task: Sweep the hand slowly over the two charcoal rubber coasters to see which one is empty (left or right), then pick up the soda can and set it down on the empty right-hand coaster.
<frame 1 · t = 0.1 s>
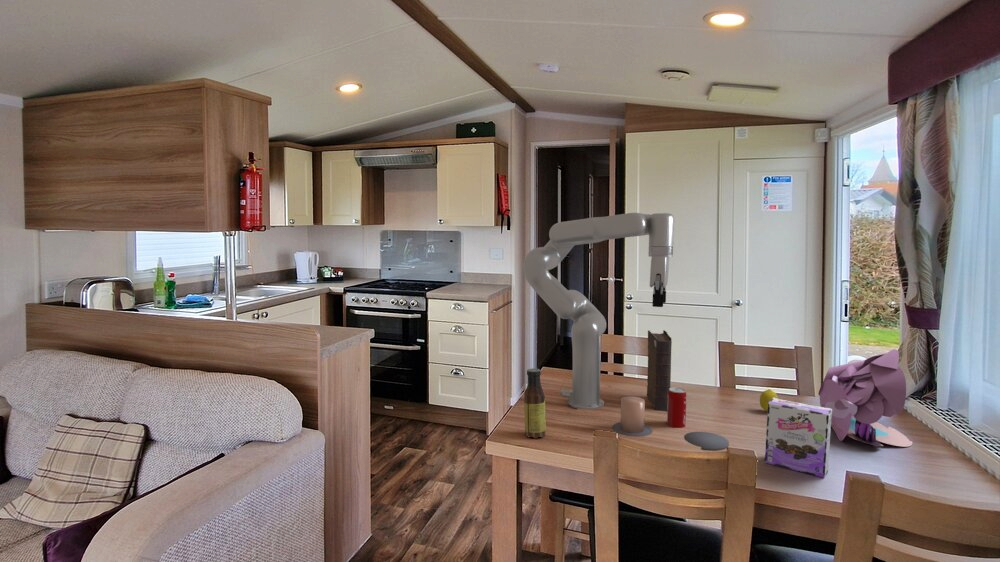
hand: (659, 304, 172), 37 cm above the table, tool pointing down, fingers open, 9 cm apart
left coaster: (632, 430, 161), on the table
lemon: (768, 413, 177), on the table
candy box: (795, 467, 137), on the table
sauce bottle: (534, 435, 158), on the table
flower arrangement: (869, 435, 158), on the table
soda can: (676, 427, 165), on the table
book: (657, 405, 185), on the table
beige rounded cylinder: (632, 428, 161), point 1 cm above the table, touching left coaster
right coaster: (706, 441, 153), on the table
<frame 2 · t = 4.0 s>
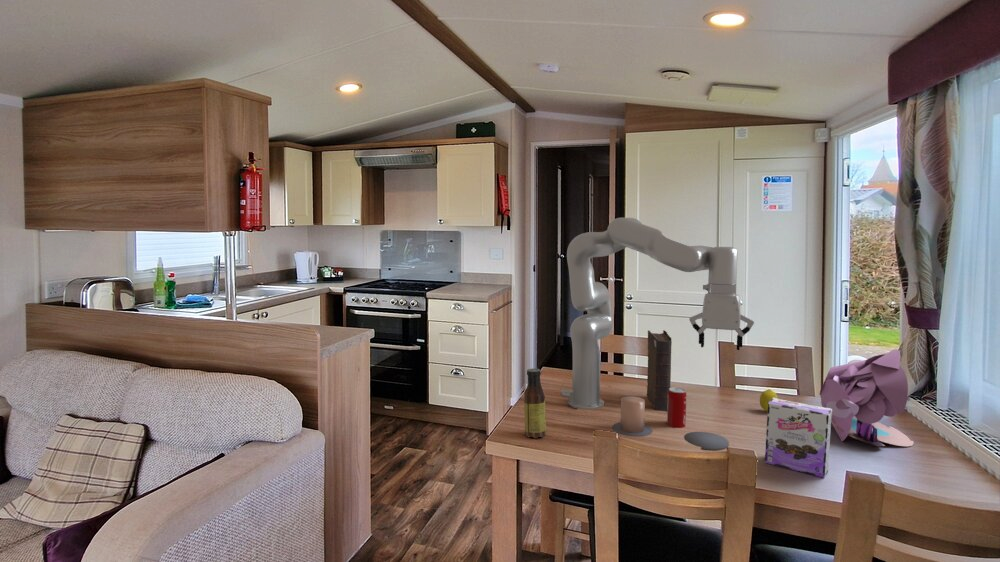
hand: (720, 347, 154), 27 cm above the table, tool pointing down, fingers open, 9 cm apart
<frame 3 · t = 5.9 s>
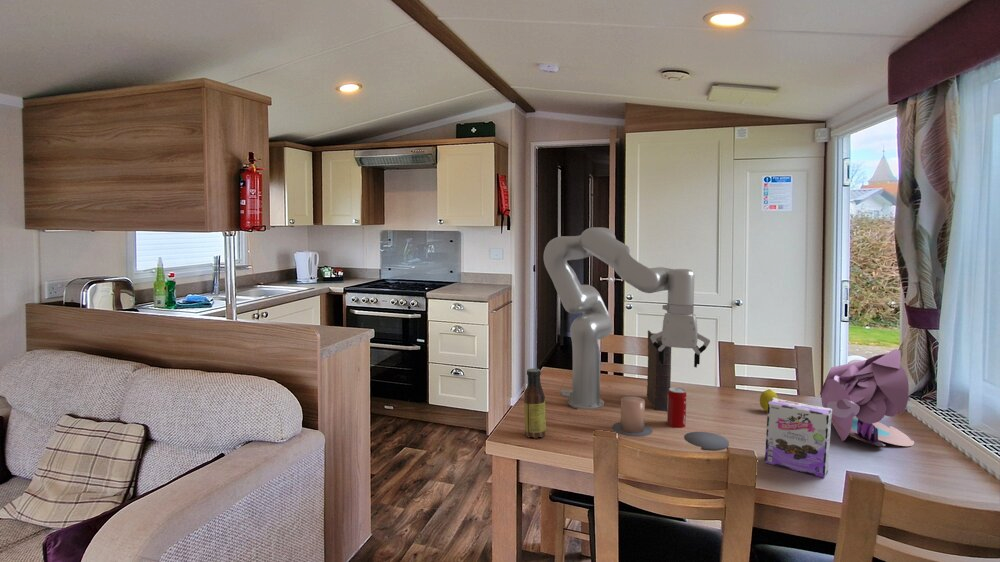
hand: (679, 364, 162), 20 cm above the table, tool pointing down, fingers open, 9 cm apart
nothing on the table moved.
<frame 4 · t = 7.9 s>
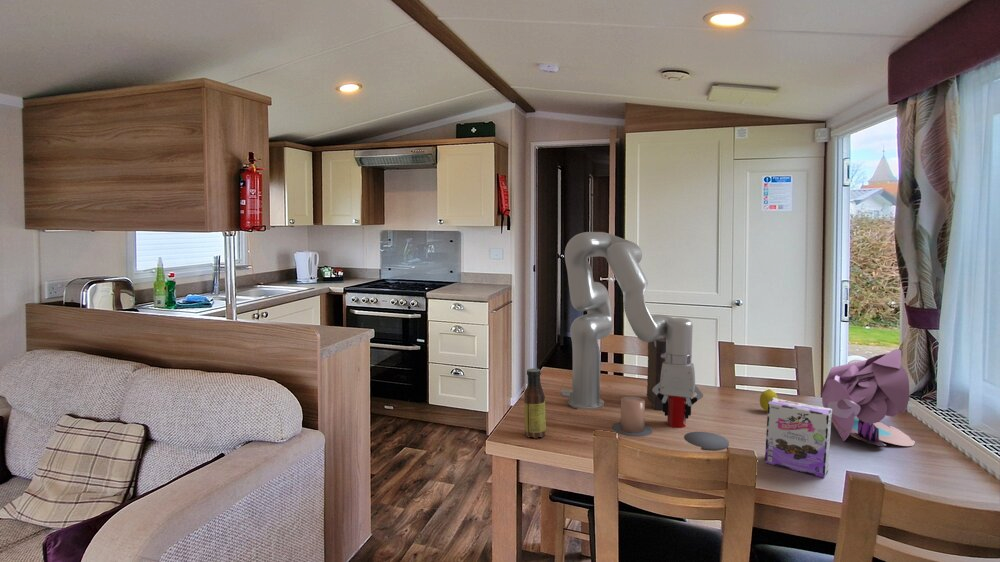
hand: (676, 415, 164), 4 cm above the table, tool pointing down, fingers closed on soda can, 5 cm apart
soda can: (676, 427, 165), on the table, touching gripper
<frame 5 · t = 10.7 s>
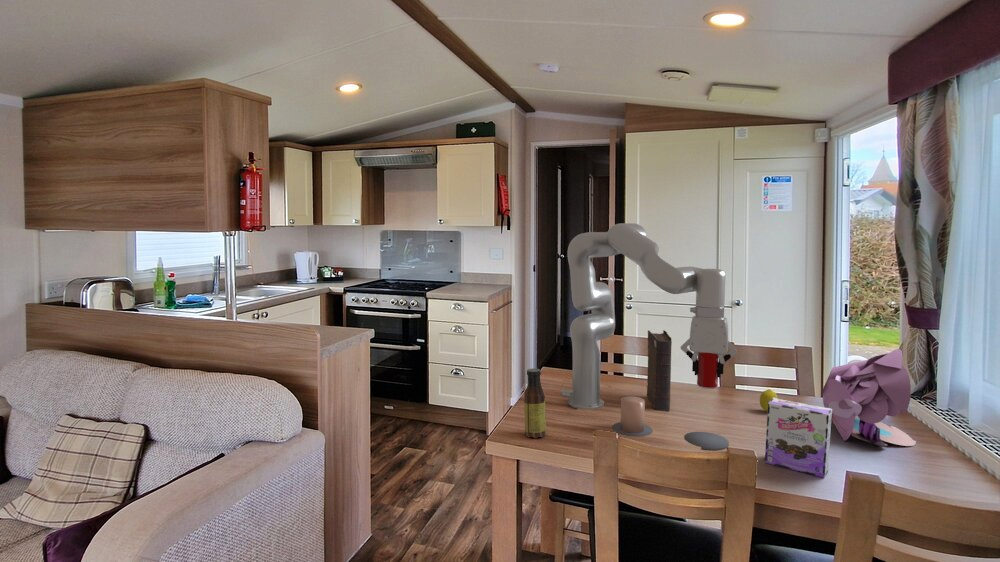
hand: (707, 374, 151), 20 cm above the table, tool pointing down, fingers closed on soda can, 5 cm apart
soda can: (707, 387, 152), point 16 cm above the table, touching gripper
when the fingers open (6 cm above the table, at t = 13.6 s): soda can drops 2 cm, resting on right coaster.
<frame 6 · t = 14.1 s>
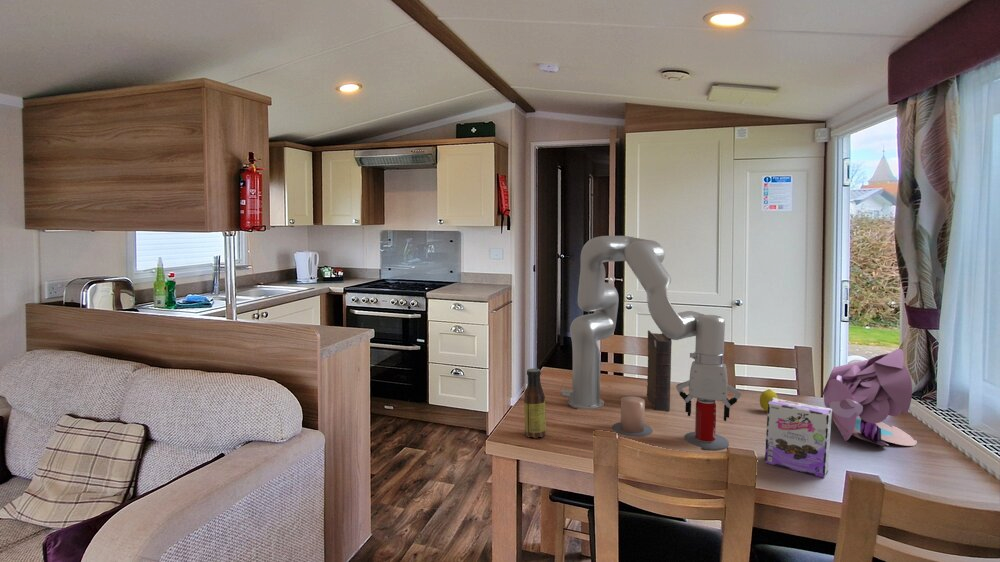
hand: (706, 417, 152), 7 cm above the table, tool pointing down, fingers open, 9 cm apart
soda can: (705, 440, 153), resting on right coaster
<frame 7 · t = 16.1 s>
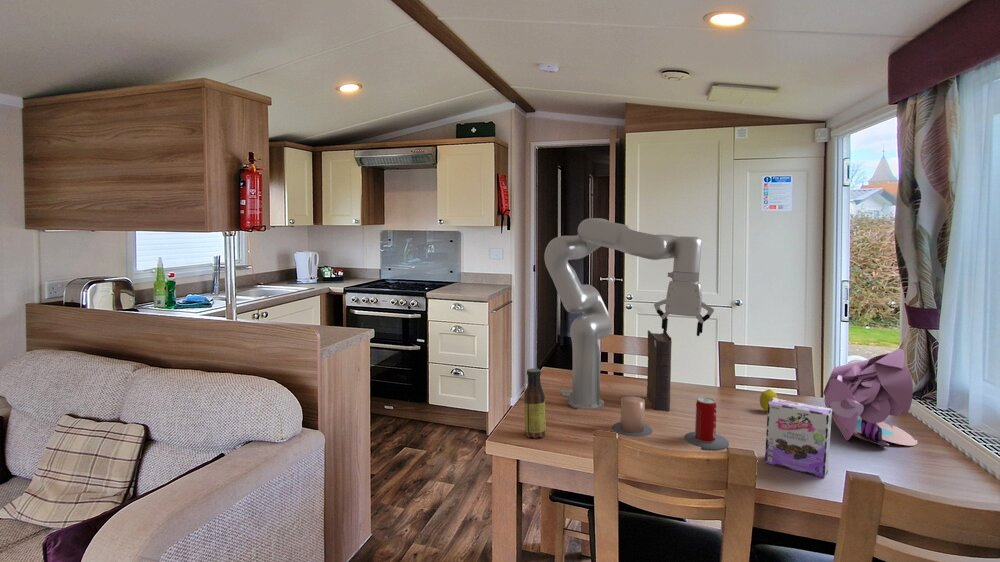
hand: (681, 333, 162), 29 cm above the table, tool pointing down, fingers open, 9 cm apart
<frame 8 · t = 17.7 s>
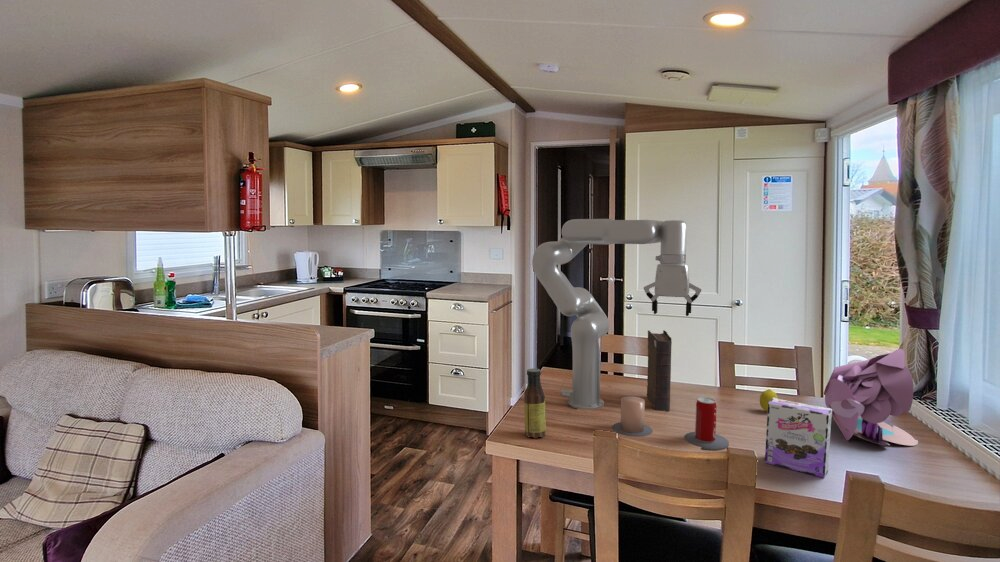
hand: (671, 314, 167), 34 cm above the table, tool pointing down, fingers open, 9 cm apart
at the end: soda can 0.2 cm from the right coaster (horizontally); soda can tilted 0°; the gripper is holding nothing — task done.
